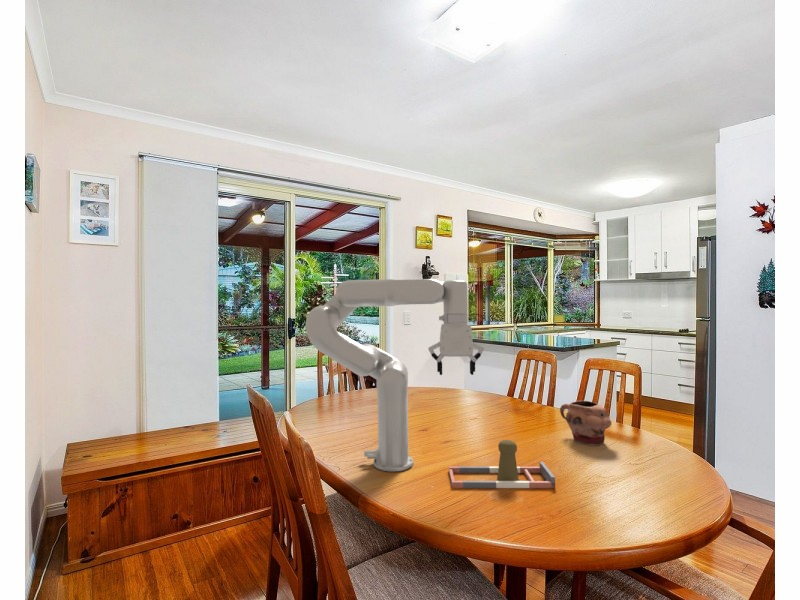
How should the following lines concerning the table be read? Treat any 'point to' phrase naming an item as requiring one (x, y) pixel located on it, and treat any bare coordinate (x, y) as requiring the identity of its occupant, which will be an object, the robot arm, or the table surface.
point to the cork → (507, 461)
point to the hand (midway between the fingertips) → (456, 374)
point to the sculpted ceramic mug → (586, 421)
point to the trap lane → (503, 484)
